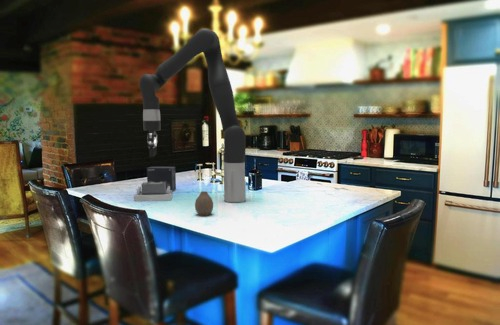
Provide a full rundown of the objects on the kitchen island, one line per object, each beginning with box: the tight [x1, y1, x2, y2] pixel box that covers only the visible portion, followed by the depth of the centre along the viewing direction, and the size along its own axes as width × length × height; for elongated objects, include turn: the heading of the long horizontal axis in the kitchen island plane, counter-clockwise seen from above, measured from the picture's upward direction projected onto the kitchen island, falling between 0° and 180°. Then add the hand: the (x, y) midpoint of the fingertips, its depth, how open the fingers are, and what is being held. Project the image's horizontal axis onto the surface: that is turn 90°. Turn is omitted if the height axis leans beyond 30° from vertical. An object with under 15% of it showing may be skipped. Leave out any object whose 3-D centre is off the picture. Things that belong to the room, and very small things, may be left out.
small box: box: [146, 166, 177, 192], centre depth 202 cm, size 13×7×12 cm, turn 84°
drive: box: [140, 181, 166, 195], centre depth 183 cm, size 10×6×6 cm, turn 95°
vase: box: [194, 191, 214, 217], centre depth 152 cm, size 7×7×9 cm
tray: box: [133, 186, 173, 202], centre depth 183 cm, size 16×11×5 cm
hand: (153, 155), depth 181 cm, fingers open, 8 cm apart
